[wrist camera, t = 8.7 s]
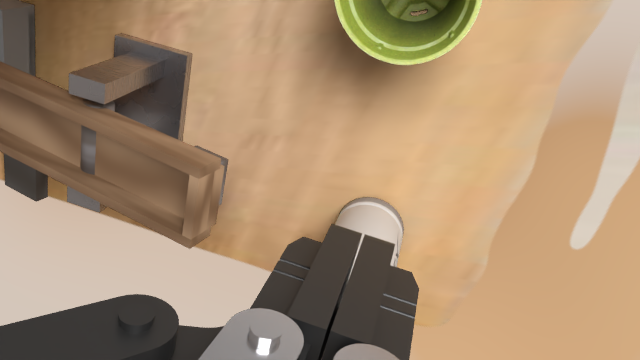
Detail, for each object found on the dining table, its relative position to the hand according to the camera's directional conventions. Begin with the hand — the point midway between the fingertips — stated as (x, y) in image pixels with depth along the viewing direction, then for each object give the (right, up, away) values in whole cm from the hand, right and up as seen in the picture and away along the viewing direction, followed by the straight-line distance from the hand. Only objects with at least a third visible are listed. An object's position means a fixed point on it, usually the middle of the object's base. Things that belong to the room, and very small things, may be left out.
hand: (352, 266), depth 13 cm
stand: (-17, +9, +40) cm, 44 cm away
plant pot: (+7, +17, +30) cm, 35 cm away
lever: (-18, +4, +35) cm, 40 cm away
